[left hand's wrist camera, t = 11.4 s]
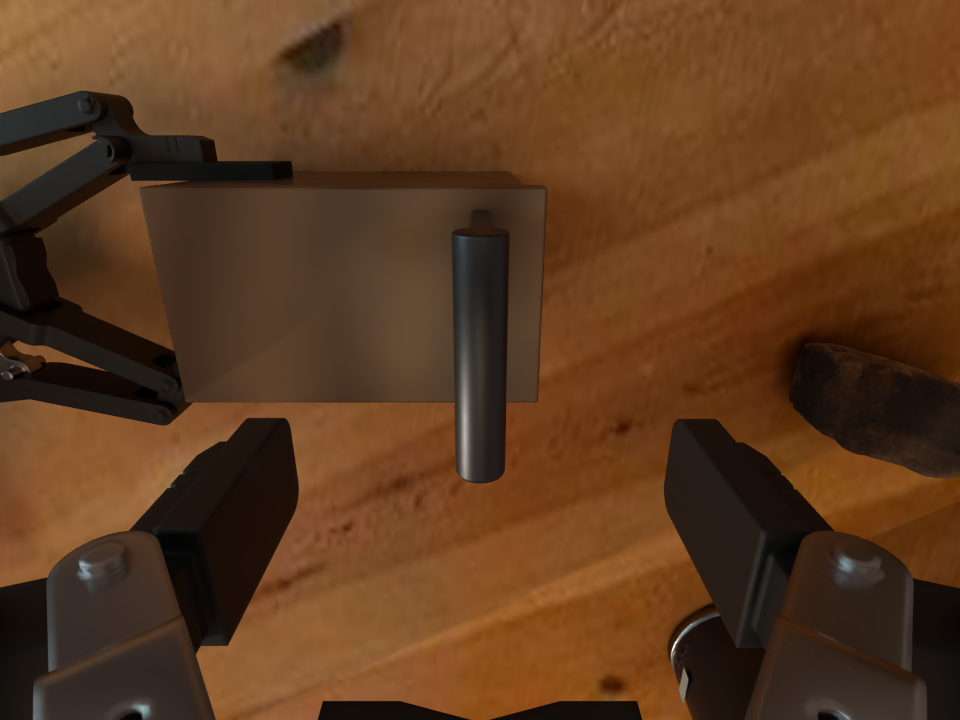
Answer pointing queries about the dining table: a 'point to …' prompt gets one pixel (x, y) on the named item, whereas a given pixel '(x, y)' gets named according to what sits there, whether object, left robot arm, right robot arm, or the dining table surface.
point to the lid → (357, 297)
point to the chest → (376, 179)
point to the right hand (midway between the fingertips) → (295, 271)
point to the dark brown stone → (880, 408)
